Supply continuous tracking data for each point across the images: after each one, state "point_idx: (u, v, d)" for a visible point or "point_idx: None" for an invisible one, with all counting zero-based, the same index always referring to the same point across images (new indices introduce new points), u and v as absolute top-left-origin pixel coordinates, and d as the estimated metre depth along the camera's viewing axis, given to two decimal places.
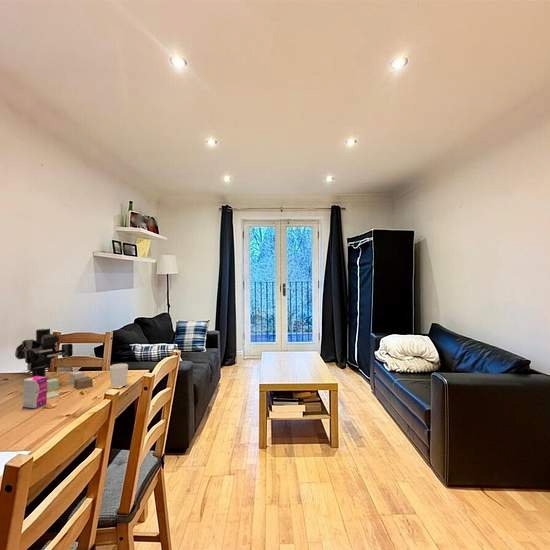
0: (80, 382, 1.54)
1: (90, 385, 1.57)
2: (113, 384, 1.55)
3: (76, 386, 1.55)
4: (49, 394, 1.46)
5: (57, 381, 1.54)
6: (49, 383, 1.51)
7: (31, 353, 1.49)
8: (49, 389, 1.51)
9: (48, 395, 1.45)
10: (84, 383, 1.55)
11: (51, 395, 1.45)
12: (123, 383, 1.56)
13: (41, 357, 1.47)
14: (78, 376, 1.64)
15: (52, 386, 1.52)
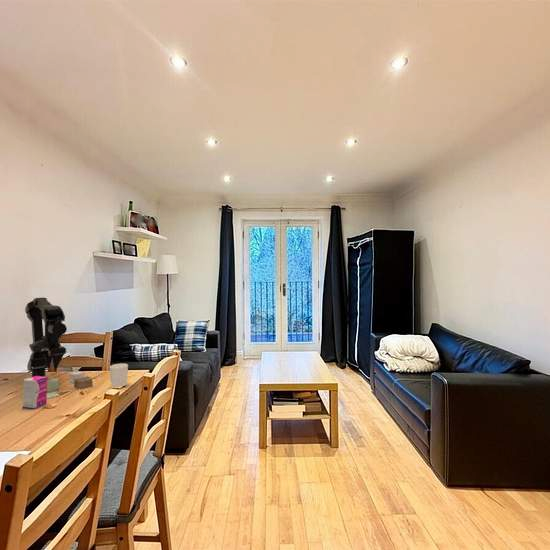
0: (80, 382, 1.54)
1: (90, 385, 1.57)
2: (113, 384, 1.55)
3: (76, 386, 1.55)
4: (49, 394, 1.46)
5: (57, 381, 1.54)
6: (49, 383, 1.51)
7: None
8: (49, 389, 1.51)
9: (48, 395, 1.45)
10: (84, 383, 1.55)
11: (51, 395, 1.45)
12: (123, 383, 1.56)
13: None
14: (78, 376, 1.64)
15: (52, 386, 1.52)
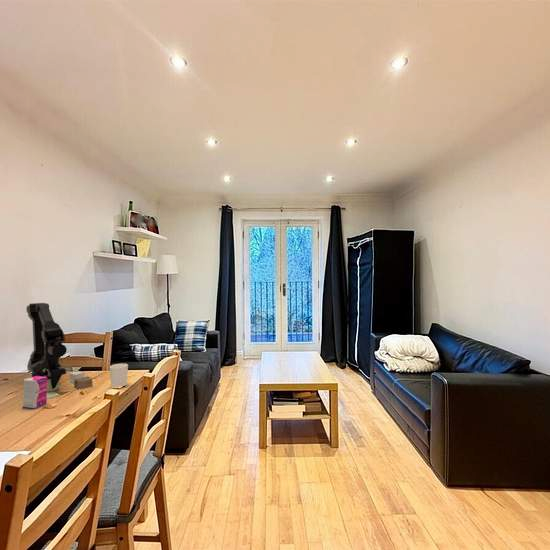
0: (80, 382, 1.54)
1: (90, 385, 1.57)
2: (113, 384, 1.55)
3: (76, 386, 1.55)
4: (49, 394, 1.46)
5: None
6: (49, 383, 1.51)
7: None
8: (49, 389, 1.51)
9: (48, 395, 1.45)
10: (83, 383, 1.55)
11: (51, 395, 1.45)
12: (123, 383, 1.56)
13: None
14: (78, 376, 1.64)
15: None
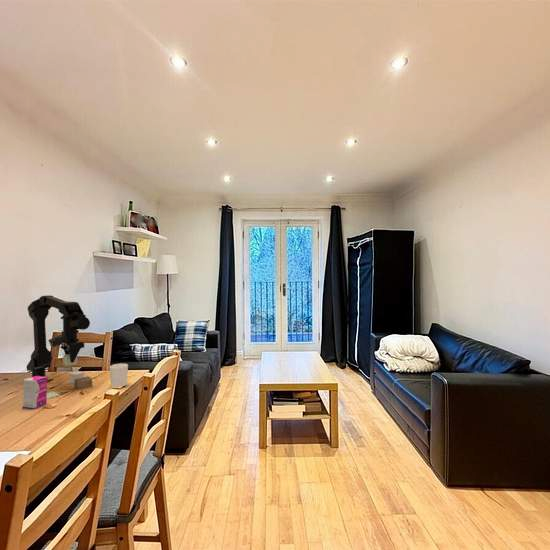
0: (79, 382, 1.54)
1: (90, 385, 1.57)
2: (113, 384, 1.55)
3: (76, 386, 1.55)
4: (49, 394, 1.46)
5: None
6: (68, 357, 1.53)
7: None
8: (68, 363, 1.53)
9: (48, 395, 1.45)
10: (83, 383, 1.55)
11: (51, 395, 1.45)
12: (123, 383, 1.56)
13: None
14: (78, 376, 1.64)
15: None
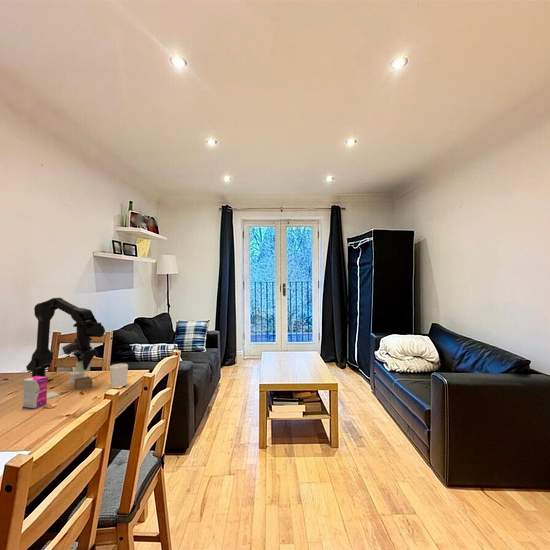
0: (79, 382, 1.54)
1: (90, 385, 1.57)
2: (113, 384, 1.55)
3: (76, 386, 1.55)
4: (49, 394, 1.46)
5: None
6: (81, 364, 1.55)
7: None
8: (81, 370, 1.55)
9: (48, 395, 1.45)
10: (83, 383, 1.55)
11: (51, 395, 1.45)
12: (123, 383, 1.56)
13: None
14: (78, 376, 1.64)
15: None
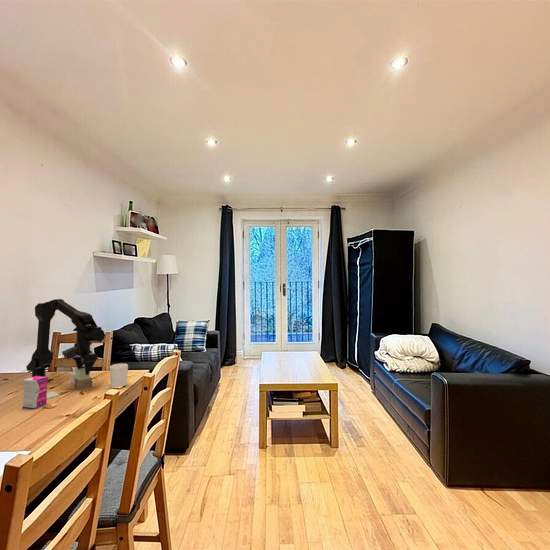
0: (79, 382, 1.54)
1: (90, 385, 1.57)
2: (113, 384, 1.55)
3: (76, 386, 1.55)
4: (49, 394, 1.46)
5: None
6: (81, 372, 1.55)
7: None
8: (81, 378, 1.55)
9: (48, 395, 1.45)
10: (83, 383, 1.55)
11: (51, 395, 1.45)
12: (123, 383, 1.56)
13: None
14: None
15: (83, 375, 1.56)
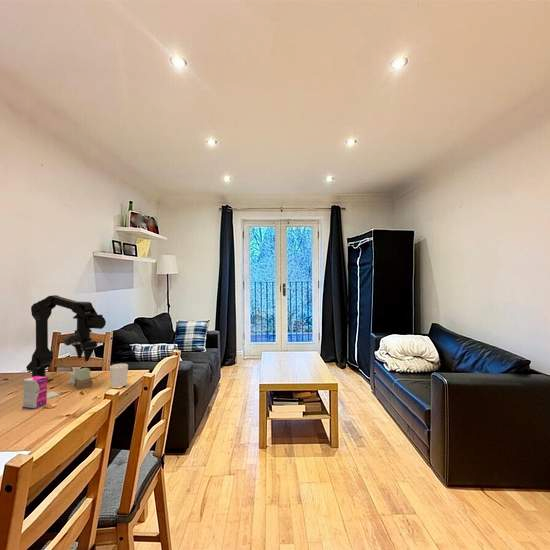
0: (79, 382, 1.54)
1: (90, 385, 1.57)
2: (113, 384, 1.55)
3: (76, 386, 1.55)
4: (49, 394, 1.46)
5: (88, 370, 1.58)
6: (81, 372, 1.55)
7: None
8: (81, 378, 1.55)
9: (48, 395, 1.45)
10: (83, 383, 1.55)
11: (51, 395, 1.45)
12: (123, 383, 1.56)
13: None
14: None
15: (84, 375, 1.56)
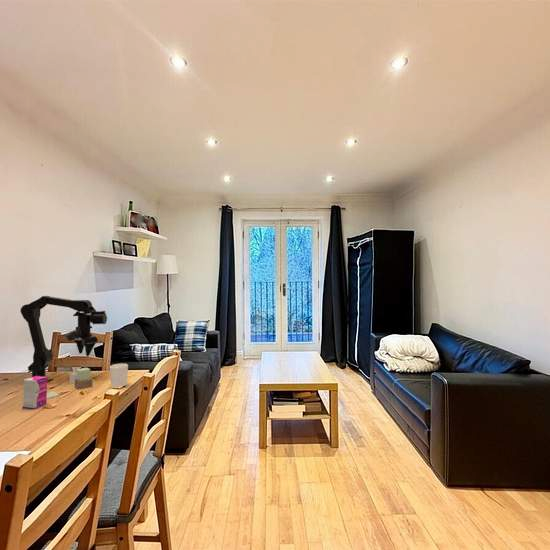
0: (79, 382, 1.54)
1: (90, 385, 1.57)
2: (113, 384, 1.55)
3: (76, 386, 1.55)
4: (49, 394, 1.46)
5: (88, 370, 1.58)
6: (81, 372, 1.55)
7: None
8: (81, 378, 1.55)
9: (48, 395, 1.45)
10: (83, 383, 1.55)
11: (51, 395, 1.45)
12: (123, 383, 1.56)
13: None
14: None
15: (84, 375, 1.56)
